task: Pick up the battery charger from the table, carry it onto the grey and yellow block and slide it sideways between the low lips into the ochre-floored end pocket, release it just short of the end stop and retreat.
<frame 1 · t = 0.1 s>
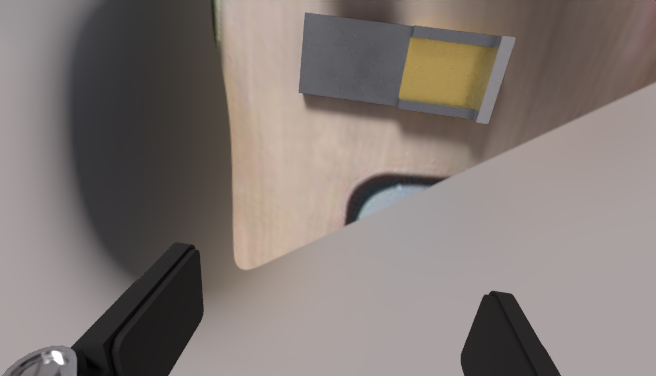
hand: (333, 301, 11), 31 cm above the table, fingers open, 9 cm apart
grey and yellow block: (357, 60, 37), on the table
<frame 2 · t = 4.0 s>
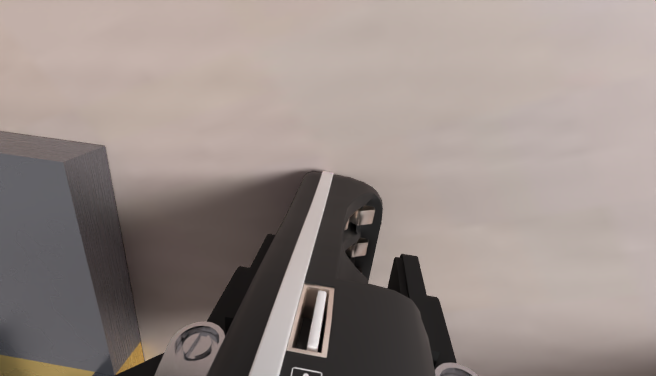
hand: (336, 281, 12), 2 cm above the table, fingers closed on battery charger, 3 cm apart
battery charger: (343, 242, 14), on the table, touching gripper
grey and yellow block: (48, 253, 16), on the table
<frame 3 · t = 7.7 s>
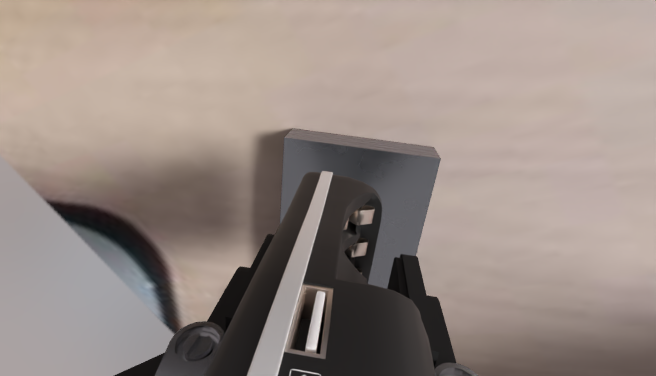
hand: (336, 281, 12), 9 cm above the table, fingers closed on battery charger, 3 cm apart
battery charger: (343, 242, 14), point 6 cm above the table, touching gripper
grey and yellow block: (348, 228, 21), on the table
when the fingers open (5 cm above the table, at t = 11.3 s): battery charger stays where it is, resting on grey and yellow block.
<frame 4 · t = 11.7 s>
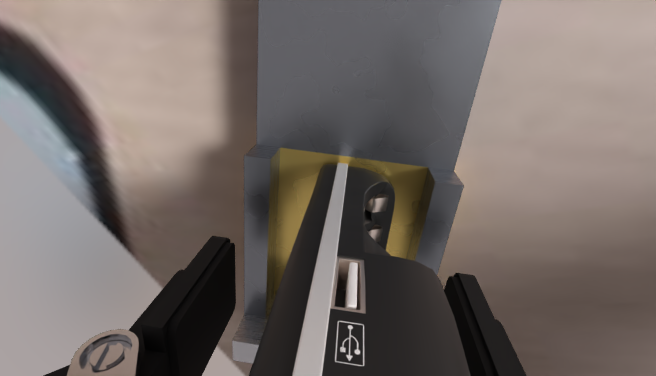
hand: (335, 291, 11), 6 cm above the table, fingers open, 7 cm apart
battery charger: (357, 231, 15), point 2 cm above the table, touching grey and yellow block
grey and yellow block: (372, 22, 13), on the table
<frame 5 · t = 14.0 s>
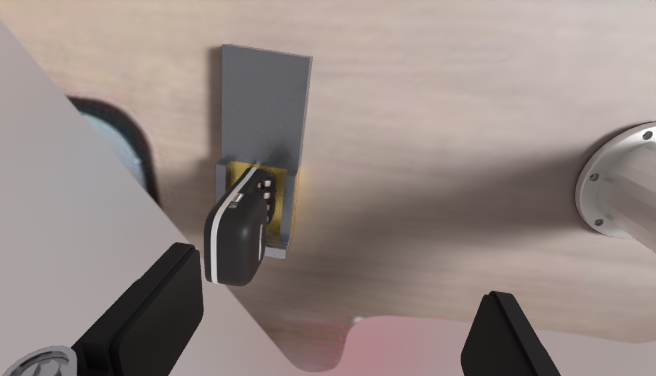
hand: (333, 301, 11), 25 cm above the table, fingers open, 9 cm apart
battery charger: (264, 195, 36), point 2 cm above the table, touching grey and yellow block
grey and yellow block: (267, 113, 34), on the table
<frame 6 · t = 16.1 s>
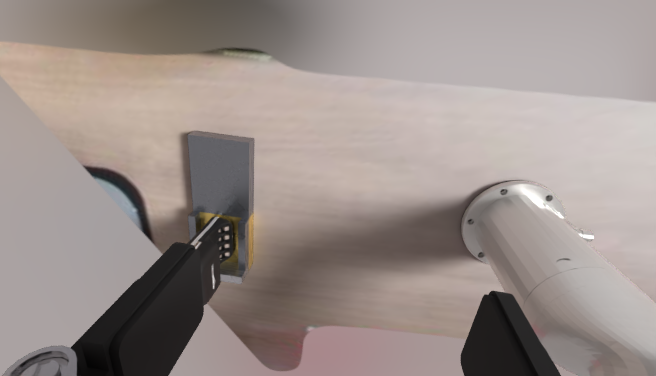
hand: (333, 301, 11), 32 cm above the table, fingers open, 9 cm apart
battery charger: (226, 235, 48), point 2 cm above the table, touching grey and yellow block
grey and yellow block: (225, 176, 46), on the table
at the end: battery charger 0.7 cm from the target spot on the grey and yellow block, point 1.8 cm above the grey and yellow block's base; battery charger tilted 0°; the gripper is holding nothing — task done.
